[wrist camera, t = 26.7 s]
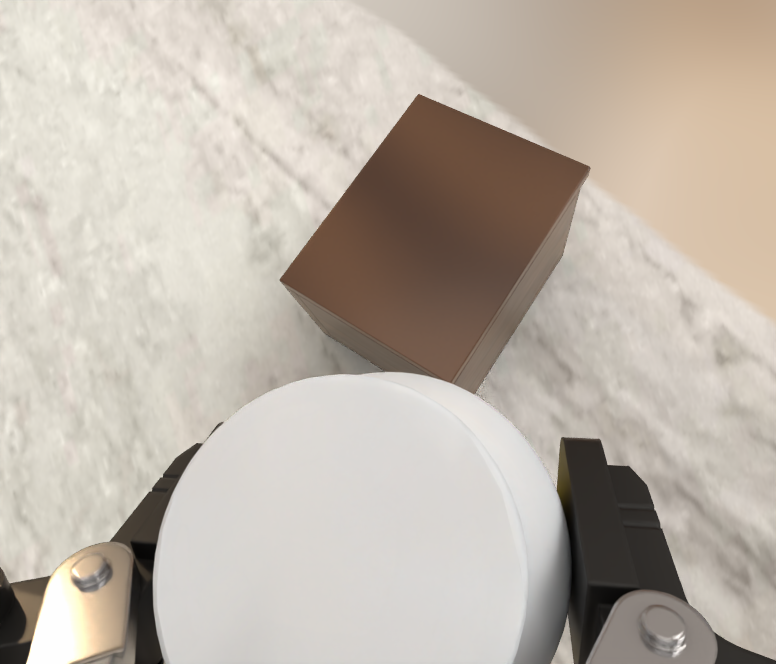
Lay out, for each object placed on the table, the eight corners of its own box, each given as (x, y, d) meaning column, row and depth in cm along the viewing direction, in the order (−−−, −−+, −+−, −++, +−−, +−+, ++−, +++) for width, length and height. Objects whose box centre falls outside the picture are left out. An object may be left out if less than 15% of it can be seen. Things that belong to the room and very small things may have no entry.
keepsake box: (426, 188, 40) (412, 113, 33) (563, 255, 37) (581, 187, 29) (324, 333, 38) (284, 286, 30) (459, 418, 34) (451, 388, 27)
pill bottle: (416, 396, 19) (318, 221, 8) (581, 527, 17) (740, 523, 6) (289, 551, 18) (-11, 583, 7) (446, 712, 16) (348, 1093, 5)
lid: (419, 103, 33) (418, 93, 32) (588, 175, 29) (591, 166, 29) (283, 286, 30) (278, 280, 30) (451, 388, 27) (450, 384, 26)
